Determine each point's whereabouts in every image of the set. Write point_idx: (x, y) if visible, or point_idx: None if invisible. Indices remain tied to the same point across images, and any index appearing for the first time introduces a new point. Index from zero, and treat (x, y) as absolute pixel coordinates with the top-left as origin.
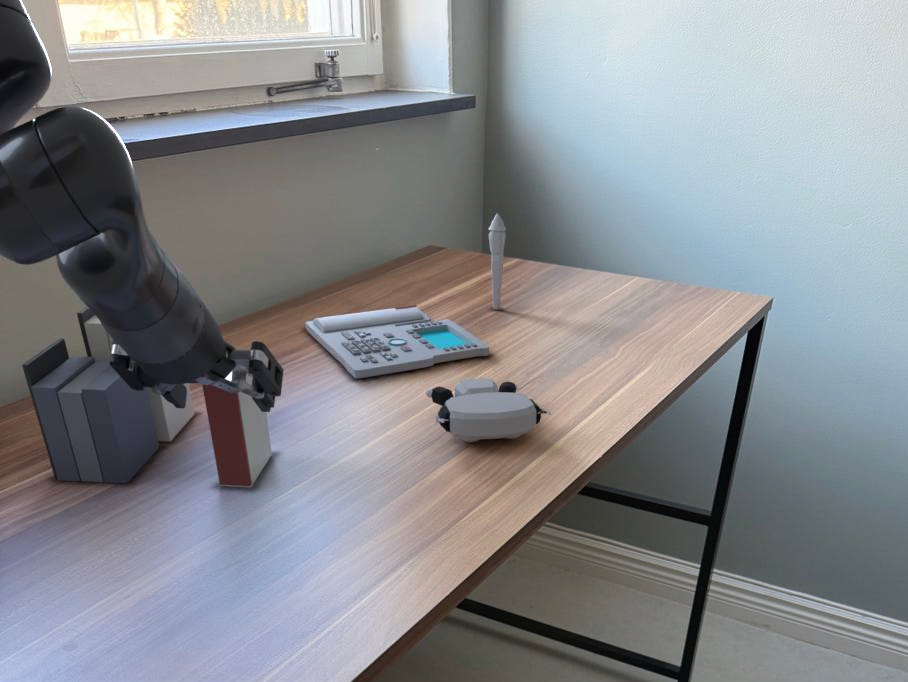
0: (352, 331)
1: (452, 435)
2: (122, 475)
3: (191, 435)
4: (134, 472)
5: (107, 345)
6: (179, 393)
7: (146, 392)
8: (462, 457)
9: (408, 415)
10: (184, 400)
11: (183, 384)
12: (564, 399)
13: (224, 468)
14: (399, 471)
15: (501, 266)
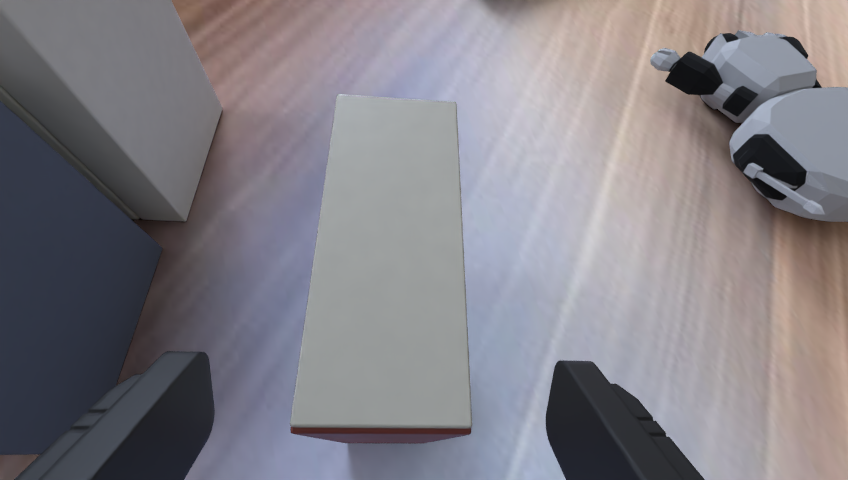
0: None
1: (776, 206)
2: None
3: (229, 190)
4: None
5: None
6: (171, 448)
7: (70, 173)
8: (788, 253)
9: (616, 104)
10: (205, 404)
11: (182, 372)
12: (819, 54)
13: (362, 442)
14: (707, 322)
15: None
